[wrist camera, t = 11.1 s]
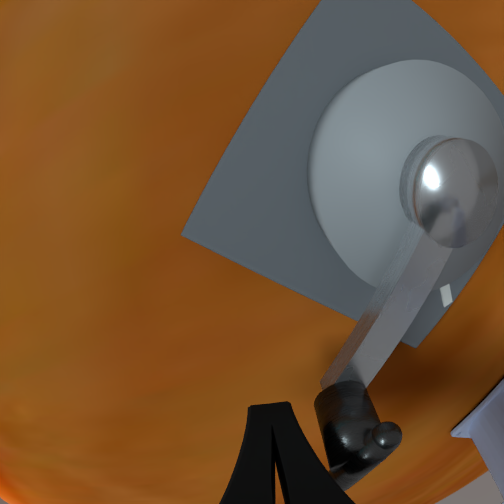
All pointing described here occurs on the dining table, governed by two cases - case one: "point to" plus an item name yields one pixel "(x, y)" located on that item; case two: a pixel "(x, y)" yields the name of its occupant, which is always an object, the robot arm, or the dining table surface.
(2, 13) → the dining table surface
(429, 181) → the crank
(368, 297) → the crank base
